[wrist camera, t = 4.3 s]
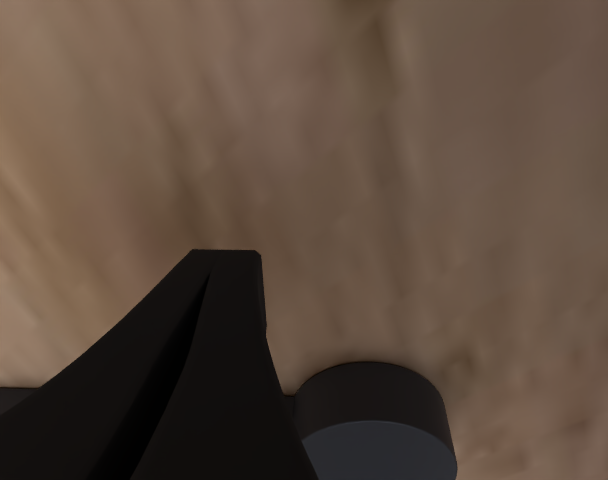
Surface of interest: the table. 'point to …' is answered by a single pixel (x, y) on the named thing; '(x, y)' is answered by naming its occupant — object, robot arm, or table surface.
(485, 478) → the table surface
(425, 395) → the coffee scoop
